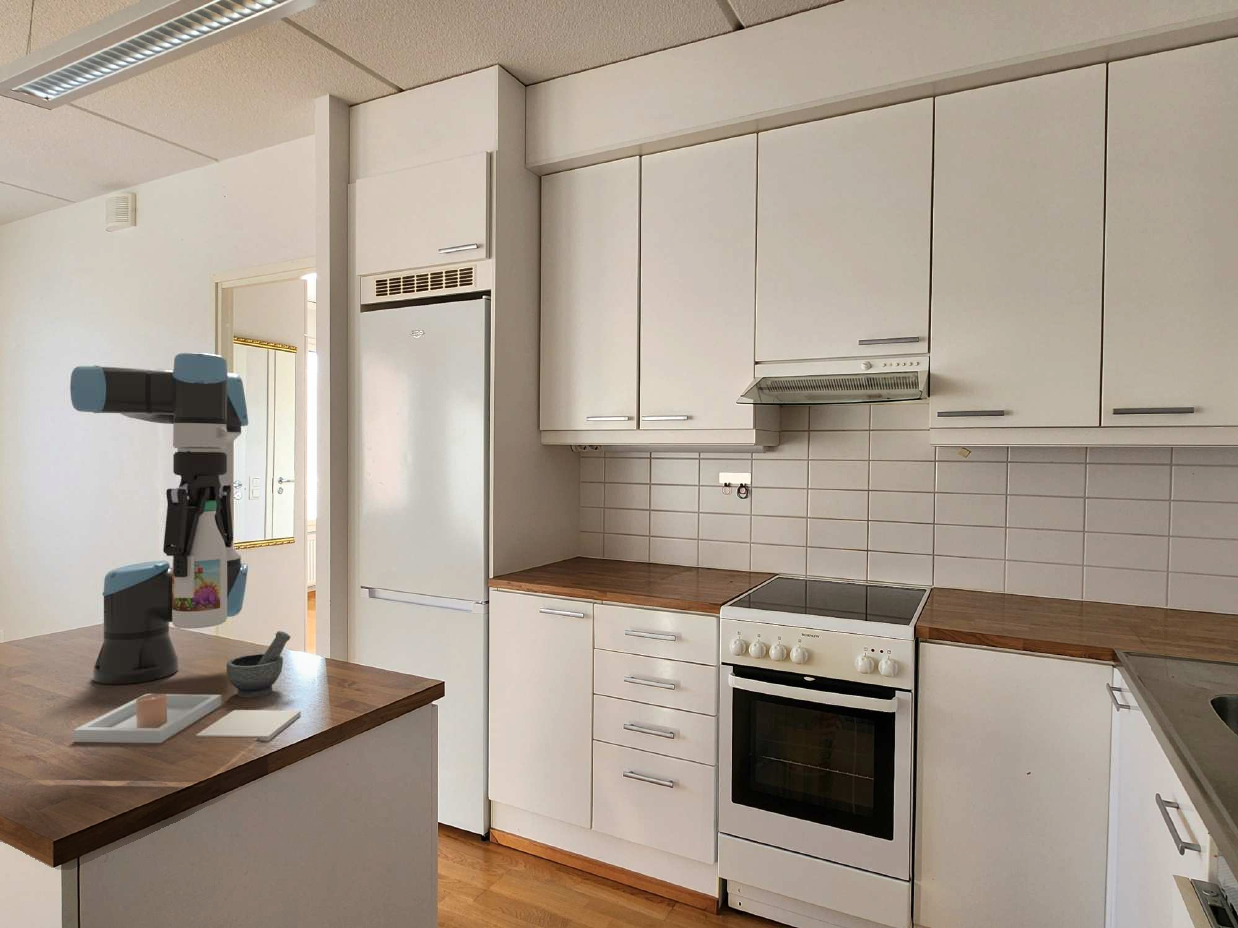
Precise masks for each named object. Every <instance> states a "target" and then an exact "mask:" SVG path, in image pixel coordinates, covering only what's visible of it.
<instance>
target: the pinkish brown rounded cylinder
mask: <svg viewBox="0 0 1238 928" xmlns="http://www.w3.org/2000/svg"><path fill="white" fill-rule="evenodd" d="M150 694H151V695H146V696H143V695H141V696H142V697H141V696H139V697H140V698H139V697H137V698H138V699H137V698H135V699H136V717H137V728H159V727H161V726H162V725H164V724H166V723H167V695H166V694H167V693H150Z"/></svg>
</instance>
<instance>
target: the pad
mask: <svg viewBox="0 0 1238 928" xmlns="http://www.w3.org/2000/svg"><path fill="white" fill-rule="evenodd" d="M301 713H302V712H301V710H268V709H267V710H266V709H265V710H263V709H262V710H259V709H255V710H254V709H248V710H247V709H234V710H232V711H231V712H229V713H227V714H226V715H224V716H223V717H221V718H219V719H218V720H217V721H215V722H214V723H211V724H210V725H209V726H207V727H206V728H204V729H202V730H201V731H200V732H198V733H197V734H195V737H203V738H204V737H208V738H209V737H210V738H211V737H214V738H217V737H218V738H256V739H255V741H256V742H257V741H258V742H259V741H260V742H262V741H263V742H269V741H271V739H273V738H274V737H275V736H277V735H278V734H279V733H280V732H282V731H283V730H284V729H285V728H287V727H288V726H289V725H291V724H292V723H293V722H294V721H296V719H298V718H299V717H300V716H301V715H302V714H301Z"/></svg>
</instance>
